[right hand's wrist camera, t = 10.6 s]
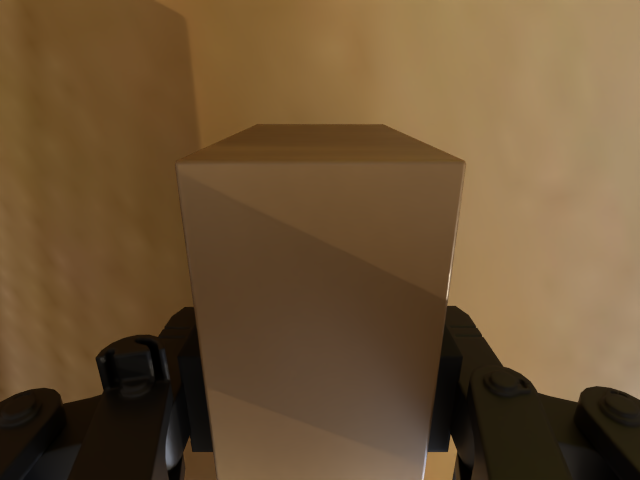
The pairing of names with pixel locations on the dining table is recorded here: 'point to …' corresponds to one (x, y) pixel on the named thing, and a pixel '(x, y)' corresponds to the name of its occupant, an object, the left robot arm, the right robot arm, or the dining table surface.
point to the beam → (320, 296)
